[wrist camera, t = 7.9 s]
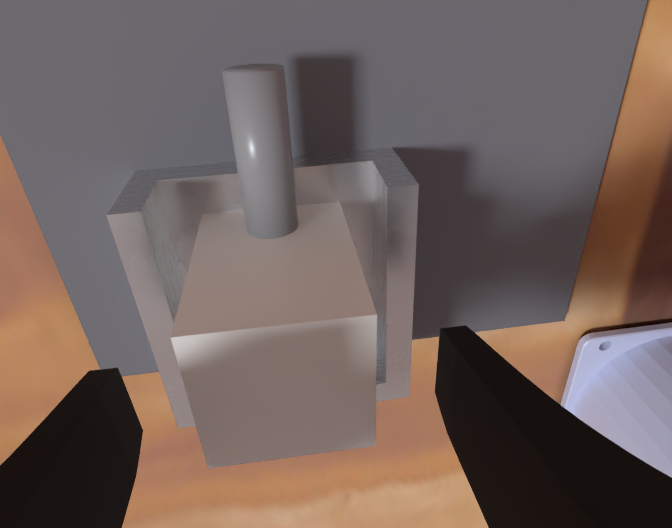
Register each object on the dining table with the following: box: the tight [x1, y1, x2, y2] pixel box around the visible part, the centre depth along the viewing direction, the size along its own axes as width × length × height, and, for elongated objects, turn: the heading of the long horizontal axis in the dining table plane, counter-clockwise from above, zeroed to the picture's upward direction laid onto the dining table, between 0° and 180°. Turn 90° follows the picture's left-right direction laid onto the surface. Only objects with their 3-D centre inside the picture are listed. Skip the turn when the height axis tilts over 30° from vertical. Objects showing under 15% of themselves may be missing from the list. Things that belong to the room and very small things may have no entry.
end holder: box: [106, 147, 419, 428], centre depth 15 cm, size 8×8×3 cm
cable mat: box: [0, 0, 648, 376], centre depth 15 cm, size 18×15×1 cm
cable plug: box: [170, 64, 377, 468], centre depth 12 cm, size 4×8×6 cm, turn 2°
